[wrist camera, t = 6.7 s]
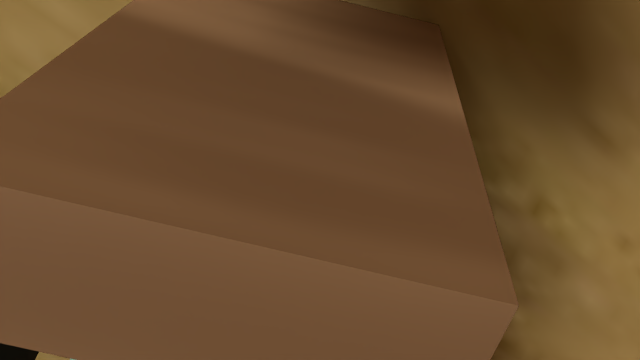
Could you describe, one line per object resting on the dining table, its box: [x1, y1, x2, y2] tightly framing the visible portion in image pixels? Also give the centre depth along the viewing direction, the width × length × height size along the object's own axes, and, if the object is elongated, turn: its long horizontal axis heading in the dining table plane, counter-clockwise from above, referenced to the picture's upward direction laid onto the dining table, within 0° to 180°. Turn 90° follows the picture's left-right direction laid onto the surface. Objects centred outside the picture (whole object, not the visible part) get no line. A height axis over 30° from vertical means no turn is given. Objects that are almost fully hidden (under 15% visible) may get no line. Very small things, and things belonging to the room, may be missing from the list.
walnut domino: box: [0, 0, 519, 360], centre depth 8 cm, size 2×4×7 cm, turn 77°
